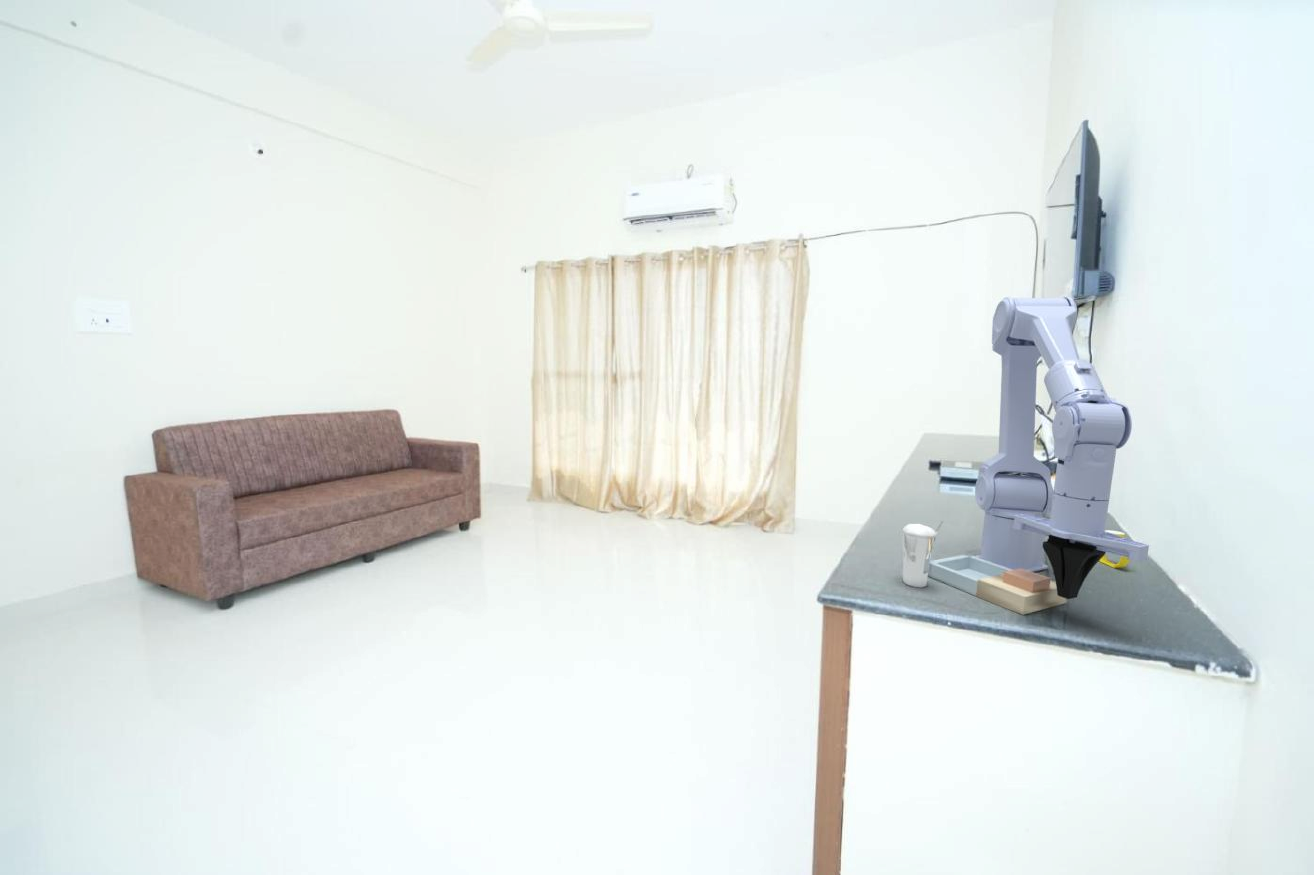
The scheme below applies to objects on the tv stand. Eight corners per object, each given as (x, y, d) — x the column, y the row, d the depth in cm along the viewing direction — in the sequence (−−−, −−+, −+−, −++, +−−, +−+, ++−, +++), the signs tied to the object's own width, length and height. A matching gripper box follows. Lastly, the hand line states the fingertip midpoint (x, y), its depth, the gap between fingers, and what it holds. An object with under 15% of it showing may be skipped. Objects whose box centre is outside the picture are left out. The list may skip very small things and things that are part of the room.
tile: (1019, 578, 79) (1021, 568, 79) (1049, 588, 76) (1050, 578, 75) (1002, 582, 77) (1003, 572, 77) (1032, 592, 74) (1033, 582, 74)
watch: (1089, 560, 97) (1091, 527, 96) (1104, 561, 97) (1107, 528, 96) (1117, 570, 91) (1120, 535, 90) (1134, 571, 91) (1137, 536, 90)
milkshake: (941, 591, 80) (947, 525, 78) (902, 587, 81) (908, 522, 79) (932, 579, 84) (938, 517, 83) (895, 576, 85) (900, 514, 84)
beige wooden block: (1018, 586, 83) (1020, 570, 82) (1065, 603, 77) (1067, 586, 77) (976, 596, 78) (977, 579, 78) (1022, 614, 73) (1024, 597, 72)
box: (966, 567, 90) (967, 554, 90) (1018, 586, 83) (1020, 572, 82) (924, 575, 86) (925, 561, 86) (976, 596, 78) (977, 581, 78)
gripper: (1004, 486, 75) (993, 580, 77) (1132, 512, 62) (1116, 625, 64) (1035, 482, 78) (1024, 573, 80) (1163, 507, 65) (1146, 615, 67)
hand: (1067, 596), depth 72 cm, fingers closed
